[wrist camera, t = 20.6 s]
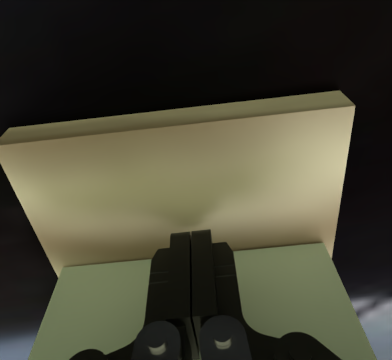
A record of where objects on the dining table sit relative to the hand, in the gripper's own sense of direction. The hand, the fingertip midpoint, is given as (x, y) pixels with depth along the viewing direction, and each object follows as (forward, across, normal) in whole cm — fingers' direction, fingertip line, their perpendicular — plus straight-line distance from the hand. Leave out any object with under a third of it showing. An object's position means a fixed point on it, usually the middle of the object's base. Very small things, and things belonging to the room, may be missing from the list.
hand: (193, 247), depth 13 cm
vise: (+3, 0, +8) cm, 9 cm away
